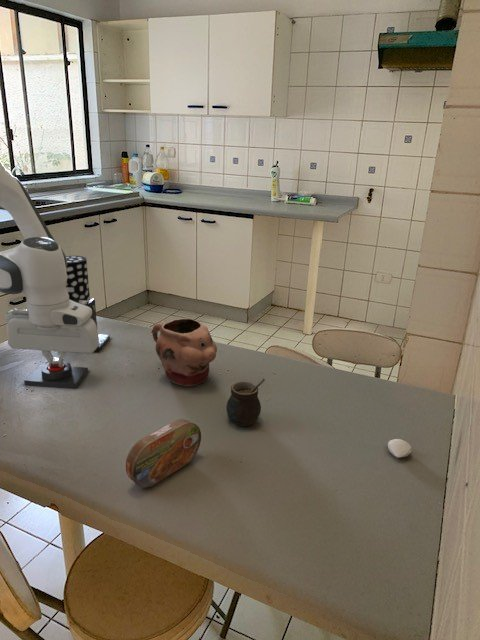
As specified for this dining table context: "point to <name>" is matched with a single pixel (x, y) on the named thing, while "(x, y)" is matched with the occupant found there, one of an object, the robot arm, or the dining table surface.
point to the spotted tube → (77, 278)
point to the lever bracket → (102, 338)
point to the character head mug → (184, 350)
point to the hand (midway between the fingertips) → (56, 366)
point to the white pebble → (399, 448)
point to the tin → (163, 452)
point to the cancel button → (55, 368)
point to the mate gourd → (244, 403)
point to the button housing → (57, 376)
